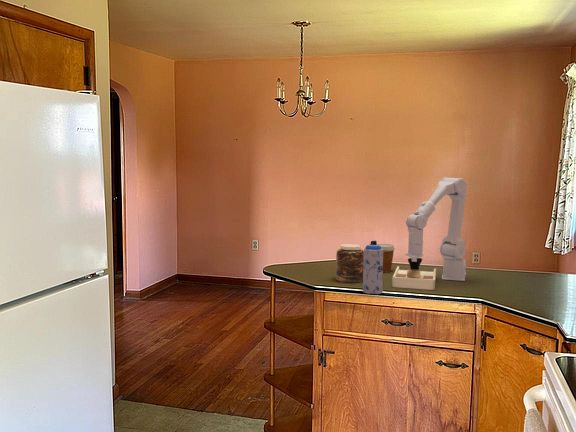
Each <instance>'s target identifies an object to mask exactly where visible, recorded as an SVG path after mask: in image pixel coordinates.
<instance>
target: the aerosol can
mask: <svg viewBox="0 0 576 432" xmlns="http://www.w3.org/2000/svg"><path fill="white" fill-rule="evenodd" d="M363 251H364V264H363V281H362V290H361V291H362V292H363V293H365V294H368V295H369V294H370V295H379V294H382V293H383V292H384V290H383V277H384V276H383V275H384V274H383V273H384V272H383V249H382V248H381V246H379V245H378V244H377V240H372V241H370V243H369V244H367V245H366V246H365V247H364V248H363Z"/></svg>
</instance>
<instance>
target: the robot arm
mask: <svg viewBox="0 0 576 432" xmlns="http://www.w3.org/2000/svg"><path fill="white" fill-rule="evenodd" d="M437 184H438V185H437V188H436V189H435V191H434V192H433V194H432V195H431V196H430V197H429V199H428V200H424V201H423V202H421V203H420V206H418V208H417V209H416V210H415V211H414V213H412V214H410V215H408V217H407V218H406V221H405V224H406V227H407V231H408V241H407V242H408V246H407V249H408V250H407V253H405V254H404V255H405V256H408V257H409V258H407V262H408V264H409V267H410V268H409V269H415V270H420V265H421V264H422V262H423V258H422V257H423V256H424V255H423V247H424V246H423V243H424V240H423V239H424V228H425V227H427V224H428V220H429V218H430V216H431V215H432V214H433V213H434V212H435V211H436V206H437V204H438V203H439V202H440V201H442V199H443V198H444V197H445V196H446V195H447V196H448V197H449V198H450V199H451V206H450V215H449V221H448V229H447V234H446V236H444V238H443V239H442V242H441V244H440V247H439V253H440V255H441V257H442V258H443V263H442V264H443V266H442V267H443V269H442V275H441V280H444V281H445V280H446V281H447V280H448V281H461V282H465V281H466V276H467V272H466V267H467V266H466V263H467V262H466V261H467V260H466V259H465V258H464V257H465V255H466V242H465V241H464V240H463V238H462V237H461V236H462V230H463V229H462V228H463V220H464V212H465V206H466V197H467V195H466V194H467V188H468V183H467V181H466V180H465V178H463V177H447V176H444V177H442V178H441V179H440V181H439V182H438V183H437Z"/></svg>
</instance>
